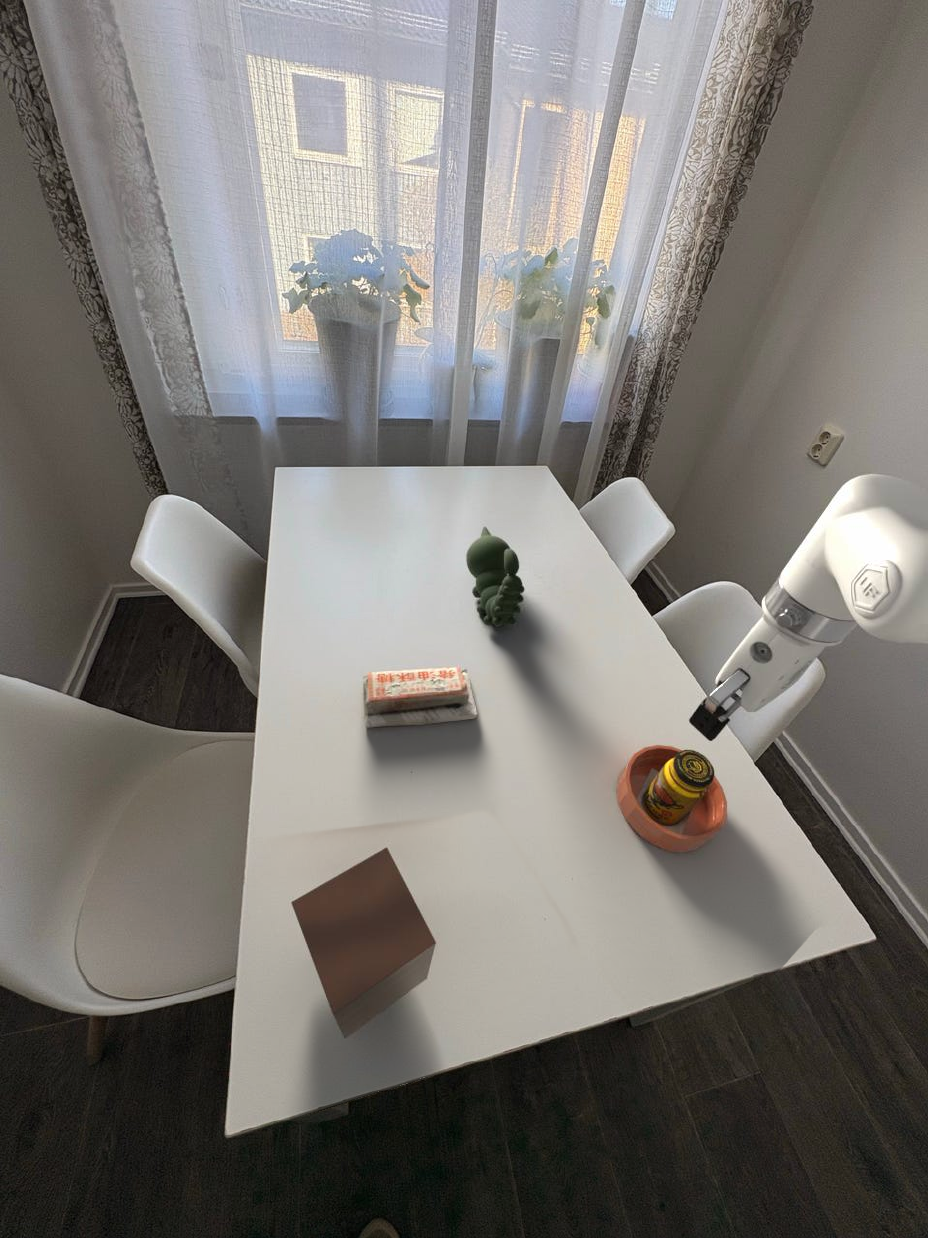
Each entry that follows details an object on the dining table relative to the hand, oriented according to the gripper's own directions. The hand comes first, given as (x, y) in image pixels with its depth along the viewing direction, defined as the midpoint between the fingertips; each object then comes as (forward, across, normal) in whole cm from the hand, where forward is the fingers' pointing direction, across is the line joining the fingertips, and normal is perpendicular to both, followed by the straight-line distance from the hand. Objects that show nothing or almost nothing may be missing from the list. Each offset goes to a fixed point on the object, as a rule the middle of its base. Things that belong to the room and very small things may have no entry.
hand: (726, 712), depth 60 cm
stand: (+24, -44, +5) cm, 51 cm away
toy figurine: (+24, +4, +48) cm, 54 cm away
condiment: (+24, +2, -1) cm, 24 cm away
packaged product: (+24, -21, +34) cm, 46 cm away
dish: (+24, +2, -1) cm, 24 cm away
